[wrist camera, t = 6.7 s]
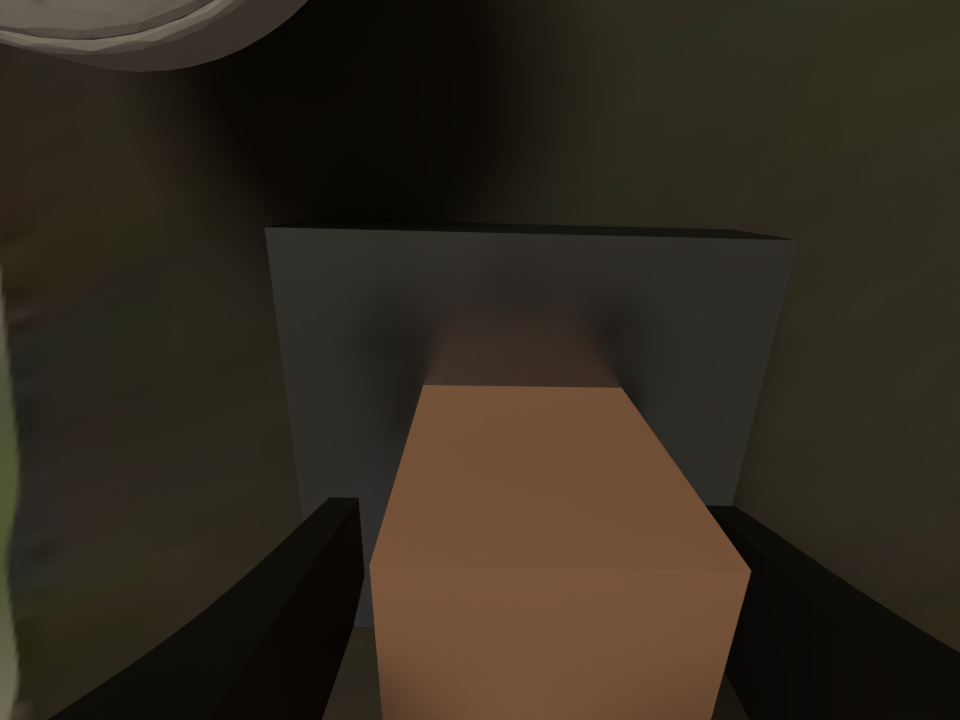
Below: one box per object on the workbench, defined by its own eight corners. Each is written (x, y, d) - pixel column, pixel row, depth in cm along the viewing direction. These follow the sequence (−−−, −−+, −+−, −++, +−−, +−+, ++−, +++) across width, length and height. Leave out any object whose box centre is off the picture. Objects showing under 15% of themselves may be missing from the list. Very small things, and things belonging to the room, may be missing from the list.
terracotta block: (428, 544, 13) (389, 801, 8) (423, 385, 12) (369, 565, 6) (601, 547, 13) (687, 804, 8) (621, 387, 12) (751, 570, 6)
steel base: (343, 554, 17) (316, 625, 15) (310, 219, 13) (264, 227, 10) (664, 561, 17) (699, 633, 15) (731, 229, 13) (798, 239, 10)
